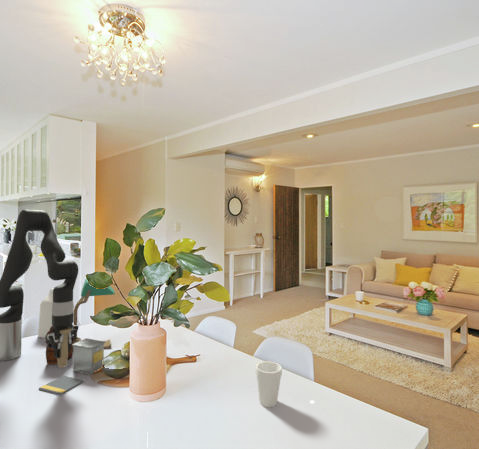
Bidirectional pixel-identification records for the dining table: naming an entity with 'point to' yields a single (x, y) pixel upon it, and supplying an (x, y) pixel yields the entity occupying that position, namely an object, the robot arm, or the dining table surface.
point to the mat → (61, 385)
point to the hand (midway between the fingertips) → (62, 355)
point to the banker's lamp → (85, 293)
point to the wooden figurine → (50, 352)
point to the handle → (64, 348)
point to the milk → (45, 315)
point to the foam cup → (268, 382)
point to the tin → (88, 356)
